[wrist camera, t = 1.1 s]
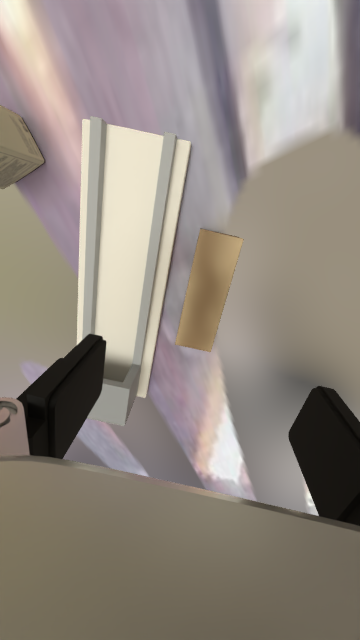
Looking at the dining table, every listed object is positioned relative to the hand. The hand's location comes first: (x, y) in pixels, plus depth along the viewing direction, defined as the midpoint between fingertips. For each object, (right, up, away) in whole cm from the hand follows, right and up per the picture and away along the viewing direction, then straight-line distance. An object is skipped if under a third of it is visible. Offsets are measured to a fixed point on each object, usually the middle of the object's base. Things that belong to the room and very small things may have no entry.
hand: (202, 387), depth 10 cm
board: (-8, +7, +18) cm, 21 cm away
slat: (+2, +7, +17) cm, 19 cm away
